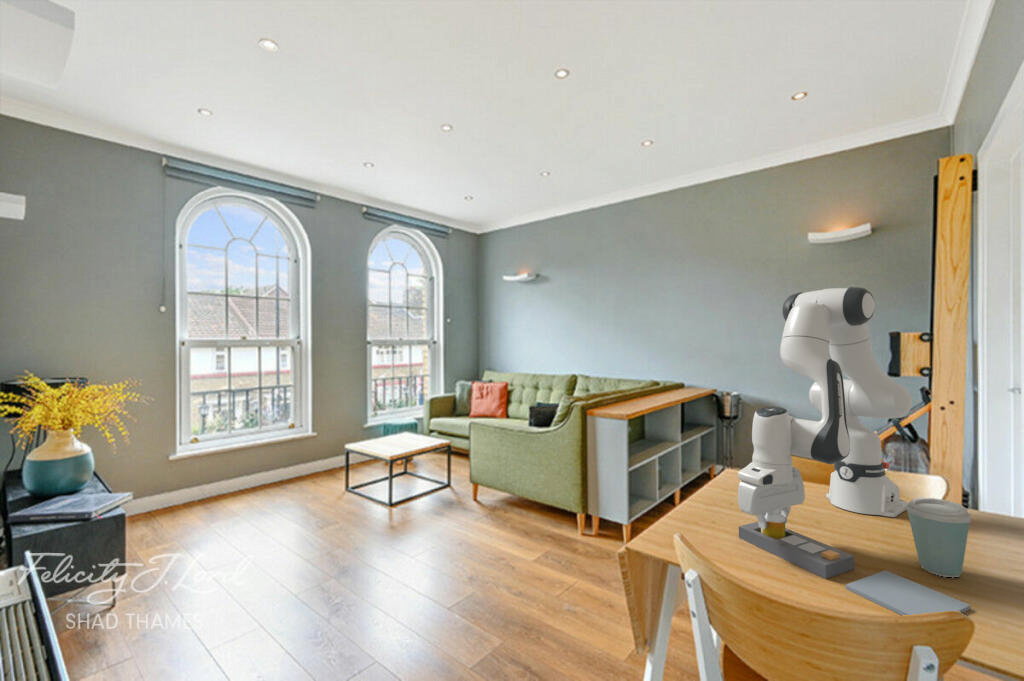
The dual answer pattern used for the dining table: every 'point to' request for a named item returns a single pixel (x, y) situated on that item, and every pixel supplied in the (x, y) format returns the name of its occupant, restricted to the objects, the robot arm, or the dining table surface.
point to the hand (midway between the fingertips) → (773, 525)
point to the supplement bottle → (775, 524)
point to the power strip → (800, 551)
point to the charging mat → (904, 595)
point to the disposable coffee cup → (939, 534)
